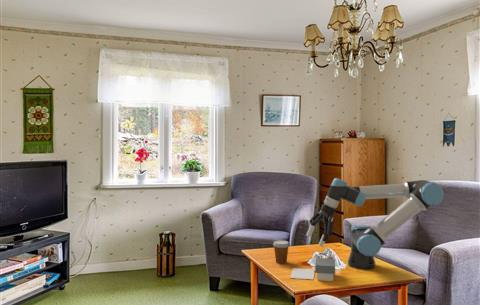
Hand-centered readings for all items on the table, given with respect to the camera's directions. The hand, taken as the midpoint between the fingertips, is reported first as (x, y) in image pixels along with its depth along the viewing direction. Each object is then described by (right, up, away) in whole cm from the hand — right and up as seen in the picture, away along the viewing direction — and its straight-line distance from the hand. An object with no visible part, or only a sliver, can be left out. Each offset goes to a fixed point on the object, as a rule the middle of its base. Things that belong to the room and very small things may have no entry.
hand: (314, 241), depth 222 cm
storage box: (+4, -17, -8) cm, 19 cm away
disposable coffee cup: (-16, -17, +19) cm, 30 cm away
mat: (-7, -17, -3) cm, 19 cm away
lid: (+4, -13, -8) cm, 16 cm away
